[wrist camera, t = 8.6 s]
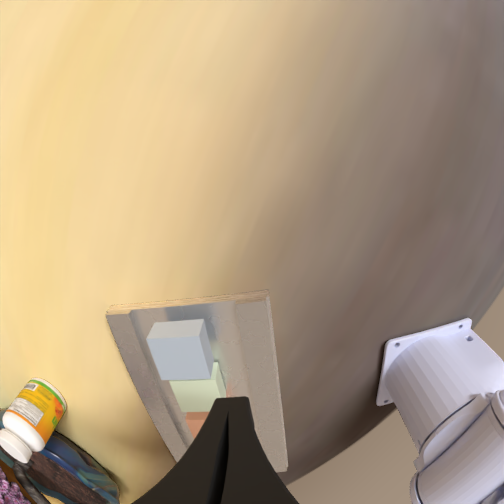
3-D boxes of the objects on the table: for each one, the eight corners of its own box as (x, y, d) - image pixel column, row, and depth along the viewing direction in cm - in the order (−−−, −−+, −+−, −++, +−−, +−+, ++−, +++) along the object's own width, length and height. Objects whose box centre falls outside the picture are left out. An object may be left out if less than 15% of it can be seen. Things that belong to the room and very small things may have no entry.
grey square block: (203, 318, 18) (198, 335, 17) (213, 359, 20) (210, 378, 18) (154, 322, 19) (146, 338, 17) (168, 362, 20) (161, 380, 18)
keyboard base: (268, 289, 20) (269, 300, 19) (287, 460, 27) (288, 470, 25) (111, 305, 21) (103, 315, 19) (184, 463, 27) (182, 474, 26)
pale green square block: (218, 361, 21) (215, 379, 19) (226, 393, 22) (224, 410, 20) (174, 364, 21) (169, 381, 19) (186, 395, 22) (181, 412, 20)
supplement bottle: (64, 416, 26) (32, 473, 16) (29, 391, 25) (-8, 442, 15) (71, 397, 24) (33, 460, 15) (32, 368, 23) (-12, 424, 14)
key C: (228, 401, 22) (227, 418, 20) (235, 425, 23) (234, 442, 21) (189, 402, 22) (185, 419, 20) (198, 426, 23) (196, 442, 21)
